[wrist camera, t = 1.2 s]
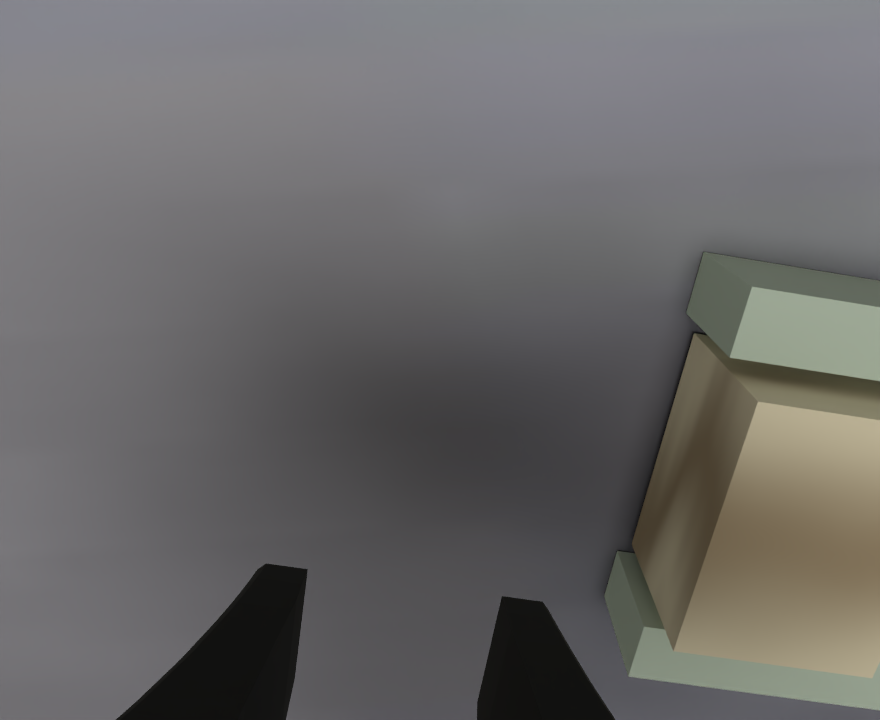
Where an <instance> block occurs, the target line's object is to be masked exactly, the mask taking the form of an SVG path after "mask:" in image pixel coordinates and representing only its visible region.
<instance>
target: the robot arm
mask: <svg viewBox="0 0 880 720" xmlns="http://www.w3.org/2000/svg"><path fill="white" fill-rule="evenodd" d="M307 570H308V569H301V568H294V567H287V566H279V565H272V564H265V565H263V566H262V567H260V568H259V569H258V570H257V571H256V572H255V574H254V575H253V577H252V578H251V579H250V581H249V582H248V583H247V585H246V586H245V587H244V589H243V590H242V591H241V592H240V594H239V595H238V596H237V597H236V599H235V600H234V601H233V602H232V603H231V605H230V606H229V607H228V608H227V609H226V610H225V612H224V613H223V614H222V615H221V616H220V617H219V619H218V620H217V621H216V622H215V623H214V624H213V625H212V626H211V627H210V628H209V630H208V631H207V632H206V633H205V634H204V635H203V636H202V637H201V638H200V639H199V640H198V641H197V642H196V643H195V645H194V646H193V647H192V648H191V649H190V650H189V651H188V652H187V653H186V654H185V655H184V656H183V657H182V658H181V659H180V660H179V661H178V662H177V663H176V664H175V665H174V666H173V667H172V668H171V669H170V670H169V671H168V672H167V673H166V674H165V675H164V676H163V677H162V678H161V679H160V680H159V681H158V682H157V683H155V684H154V685H153V686H152V687H151V688H150V689H149V690H148V691H147V692H146V693H145V694H144V695H143V696H142V697H141V698H140V699H139V700H138V701H137V702H135V703H134V704H133V705H132V706H131V707H130V708H129V709H128V710H126V711H125V712H124V713H123V714H122V715H121V716H120V717H118V718H117V719H116V720H286V716H287V711H288V707H289V702H290V697H291V693H292V688H293V683H294V679H295V671H296V662H297V654H298V646H299V637H300V629H301V621H302V612H303V604H304V595H305V587H306V579H307ZM477 720H615V718H614V717H613V715H612V714H611V712H610V711H609V709H608V708H607V706H606V705H605V703H604V702H603V700H602V699H601V697H600V696H599V694H598V693H597V691H596V690H595V688H594V686H593V685H592V683H591V682H590V680H589V678H588V677H587V675H586V674H585V672H584V670H583V669H582V667H581V665H580V664H579V662H578V660H577V659H576V657H575V655H574V654H573V652H572V650H571V649H570V647H569V645H568V644H567V642H566V640H565V639H564V637H563V635H562V633H561V632H560V630H559V628H558V626H557V625H556V623H555V621H554V619H553V617H552V616H551V614H550V612H549V610H548V609H547V607H546V606H545V605H544V603H543V602H540V601H532V600H525V599H518V598H511V597H503V596H502V599H501V603H500V607H499V612H498V616H497V620H496V624H495V629H494V633H493V637H492V642H491V646H490V650H489V655H488V659H487V663H486V668H485V672H484V676H483V681H482V685H481V689H480V694H479V698H478V702H477Z"/></svg>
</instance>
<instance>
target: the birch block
mask: <svg viewBox="0 0 880 720" xmlns="http://www.w3.org/2000/svg"><path fill="white" fill-rule="evenodd" d="M632 546H633V549H634V552H635V554H636V557H637V559H638V562H639V564H640V567H641V569H642V572H643V575H644V577H645V580H646V582H647V585H648V587H649V590H650V593H651V595H652V598H653V600H654V603H655V605H656V608H657V611H658V613H659V616H660V618H661V621H662V623H663V626H664V629H665V631H666V634H667V636H668V639H669V641H670V644H671V646H672V649H673V651H675V652H683V653H690V654H697V655H705V656H712V657H719V658H727V659H734V660H741V661H749V662H756V663H763V664H771V665H778V666H785V667H793V668H800V669H807V670H815V671H822V672H829V673H837V674H844V675H851V676H859V677H866V678H873V676H874V673H875V671H876V669H877V667H878V665H879V663H880V381H875V380H869V379H863V378H856V377H850V376H843V375H837V374H831V373H824V372H818V371H812V370H805V369H799V368H792V367H786V366H780V365H773V364H767V363H761V362H754V361H748V360H741V359H735V358H729V357H728V356H727V355H726V353H725V352H724V351H723V350H722V349H721V348H720V347H719V346H718V345H717V344H716V343H715V342H714V341H713V340H712V339H711V338H710V337H709V336H708V335H703V334H697V333H694V335H693V339H692V342H691V345H690V349H689V352H688V355H687V359H686V362H685V366H684V369H683V372H682V376H681V379H680V382H679V386H678V389H677V393H676V396H675V399H674V403H673V406H672V409H671V413H670V416H669V420H668V423H667V426H666V430H665V433H664V436H663V440H662V443H661V447H660V450H659V453H658V457H657V460H656V463H655V467H654V470H653V474H652V477H651V480H650V484H649V487H648V490H647V494H646V497H645V501H644V504H643V507H642V511H641V514H640V517H639V521H638V524H637V528H636V531H635V534H634V538H633V541H632Z"/></svg>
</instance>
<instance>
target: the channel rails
mask: <svg viewBox="0 0 880 720" xmlns="http://www.w3.org/2000/svg"><path fill="white" fill-rule="evenodd" d="M686 314H687V315H688V316H689V317H690V318H691V319H692V320H693V321H694V322H695V323H696V324H697V325H698V326H699V327H700V328H701V329H702V330H703V331H704V332H705V333H706V334H707V335H708V336H709V337H710V338H711V339H712V340H713V341H714V342H715V343H716V344H717V345H718V346H719V347H720V348H721V349H722V350H723V351H724V352H725V353H726V355H727V356H728V357H729V358H735V359H741V360H748V361H754V362H761V363H767V364H773V365H780V366H786V367H792V368H799V369H805V370H812V371H818V372H824V373H831V374H837V375H843V376H850V377H856V378H863V379H869V380H875V381H880V281H878V280H872V279H866V278H860V277H853V276H847V275H841V274H835V273H829V272H823V271H817V270H811V269H805V268H799V267H792V266H786V265H780V264H774V263H768V262H762V261H756V260H750V259H744V258H737V257H731V256H725V255H719V254H713V253H707V252H704V253H703V256H702V260H701V263H700V267H699V270H698V274H697V277H696V280H695V284H694V287H693V291H692V294H691V298H690V301H689V305H688V308H687V312H686ZM604 597H605V601H606V604H607V607H608V611H609V614H610V617H611V621H612V624H613V627H614V631H615V634H616V637H617V641H618V644H619V647H620V651H621V654H622V657H623V661H624V664H625V667H626V671H627V674H628V677H635V678H642V679H650V680H657V681H665V682H672V683H679V684H687V685H694V686H702V687H709V688H717V689H724V690H732V691H739V692H747V693H754V694H761V695H769V696H776V697H784V698H791V699H799V700H806V701H814V702H821V703H829V704H836V705H843V706H851V707H858V708H866V709H873V710H880V663H879V665H878V667H877V669H876V671H875V673H874V676H873V678H866V677H859V676H851V675H844V674H837V673H829V672H822V671H815V670H807V669H800V668H793V667H785V666H778V665H771V664H763V663H756V662H749V661H741V660H734V659H727V658H719V657H712V656H705V655H697V654H690V653H683V652H675V651H673V649H672V646H671V644H670V641H669V639H668V636H667V634H666V631H665V629H664V626H663V623H662V621H661V618H660V616H659V613H658V611H657V608H656V605H655V603H654V600H653V598H652V595H651V593H650V590H649V587H648V585H647V582H646V580H645V577H644V575H643V572H642V569H641V567H640V564H639V562H638V559H637V557H636V554H635V553H628V552H621V551H617V553H616V557H615V560H614V564H613V567H612V571H611V574H610V578H609V581H608V584H607V588H606V591H605V595H604Z"/></svg>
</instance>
